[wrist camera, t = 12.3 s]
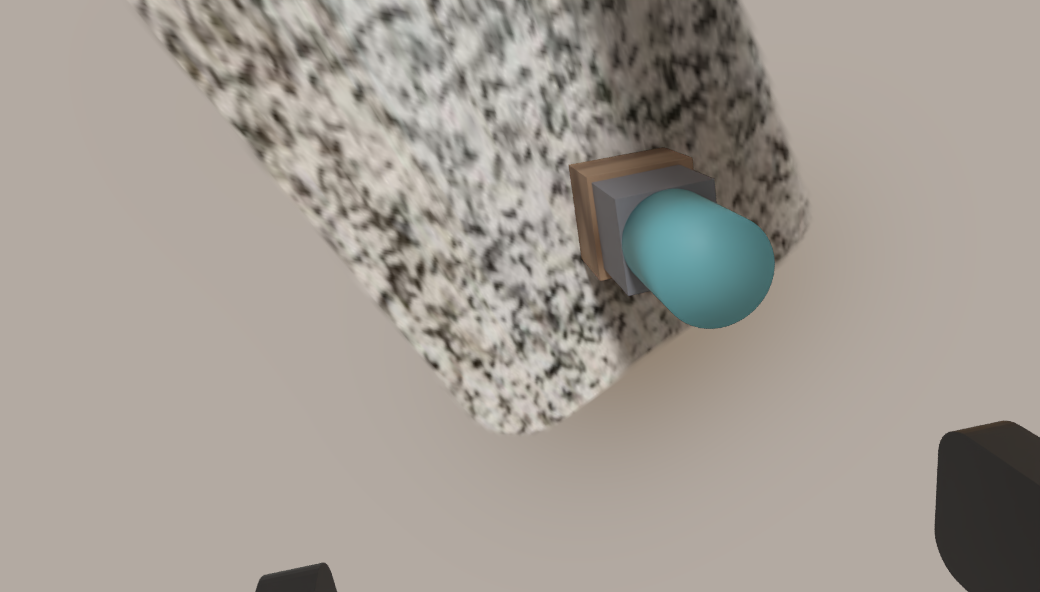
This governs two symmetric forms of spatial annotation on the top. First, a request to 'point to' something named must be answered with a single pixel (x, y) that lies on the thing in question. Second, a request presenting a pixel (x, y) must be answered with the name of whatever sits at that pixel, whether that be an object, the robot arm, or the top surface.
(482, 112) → the top surface
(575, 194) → the walnut base block
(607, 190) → the charcoal top block
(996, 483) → the robot arm
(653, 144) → the top surface
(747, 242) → the teal cylinder
